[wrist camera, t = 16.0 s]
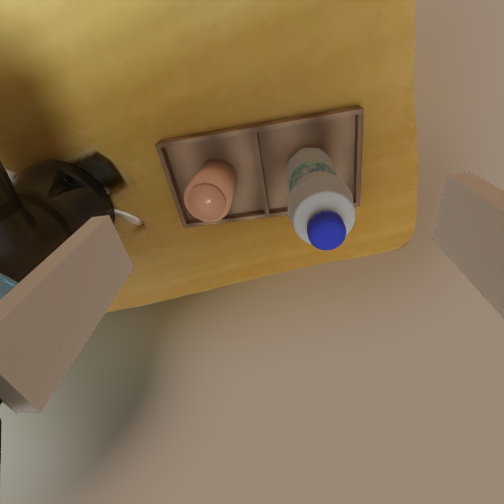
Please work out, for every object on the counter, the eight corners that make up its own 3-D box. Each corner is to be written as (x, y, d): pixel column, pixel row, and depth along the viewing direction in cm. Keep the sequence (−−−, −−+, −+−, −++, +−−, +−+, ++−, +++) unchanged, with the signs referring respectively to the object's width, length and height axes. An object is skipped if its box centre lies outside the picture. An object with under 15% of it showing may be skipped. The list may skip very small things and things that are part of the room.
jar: (203, 200, 45) (190, 227, 38) (193, 162, 42) (175, 184, 35) (241, 195, 44) (234, 222, 37) (233, 156, 41) (223, 177, 34)
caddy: (187, 220, 49) (183, 227, 47) (161, 140, 42) (155, 144, 40) (356, 199, 45) (359, 206, 43) (358, 105, 37) (363, 108, 35)
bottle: (292, 194, 44) (303, 277, 27) (277, 153, 41) (279, 218, 24) (336, 179, 42) (376, 257, 25) (324, 134, 39) (361, 190, 22)
